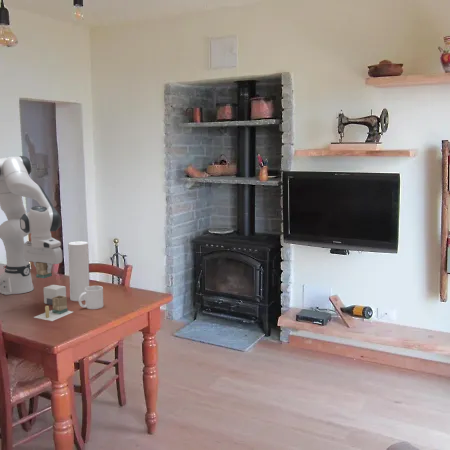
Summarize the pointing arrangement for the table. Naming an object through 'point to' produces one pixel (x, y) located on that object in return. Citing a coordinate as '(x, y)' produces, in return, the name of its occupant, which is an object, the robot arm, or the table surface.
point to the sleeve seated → (59, 304)
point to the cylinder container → (78, 269)
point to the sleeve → (42, 270)
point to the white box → (53, 293)
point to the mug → (92, 297)
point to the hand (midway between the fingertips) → (43, 271)
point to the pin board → (51, 315)
